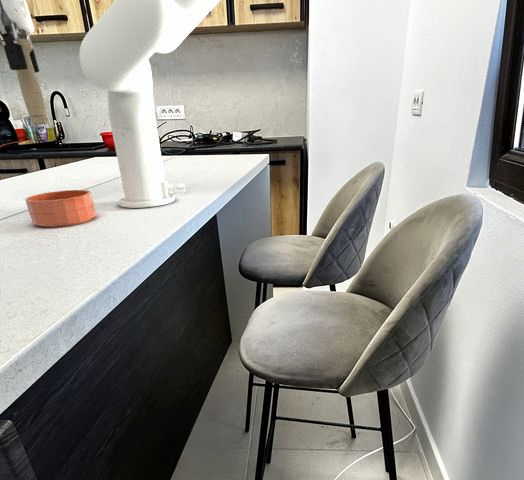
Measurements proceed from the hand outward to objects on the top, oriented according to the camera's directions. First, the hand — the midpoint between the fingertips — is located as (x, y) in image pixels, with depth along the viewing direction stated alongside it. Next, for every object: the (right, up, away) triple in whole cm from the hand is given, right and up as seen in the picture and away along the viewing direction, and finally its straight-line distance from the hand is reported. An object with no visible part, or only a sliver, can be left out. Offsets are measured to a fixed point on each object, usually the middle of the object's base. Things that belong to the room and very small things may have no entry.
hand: (25, 70), depth 89 cm
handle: (+1, -9, +5) cm, 10 cm away
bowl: (+9, -32, -2) cm, 33 cm away
